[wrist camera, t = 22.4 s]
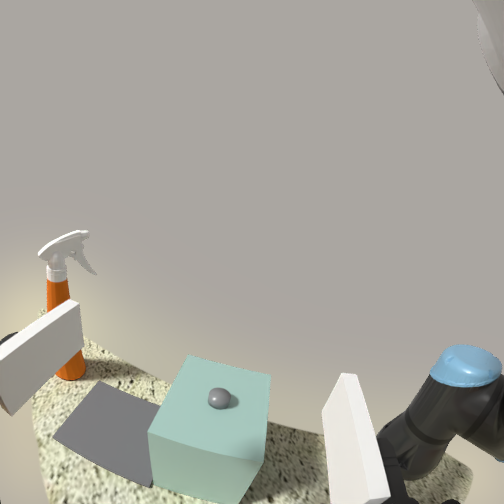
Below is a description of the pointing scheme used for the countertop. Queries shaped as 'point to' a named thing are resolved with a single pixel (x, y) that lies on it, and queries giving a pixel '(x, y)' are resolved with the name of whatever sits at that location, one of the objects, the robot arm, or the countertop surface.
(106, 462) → the rubber mat
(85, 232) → the spray bottle
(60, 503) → the countertop surface
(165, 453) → the box
